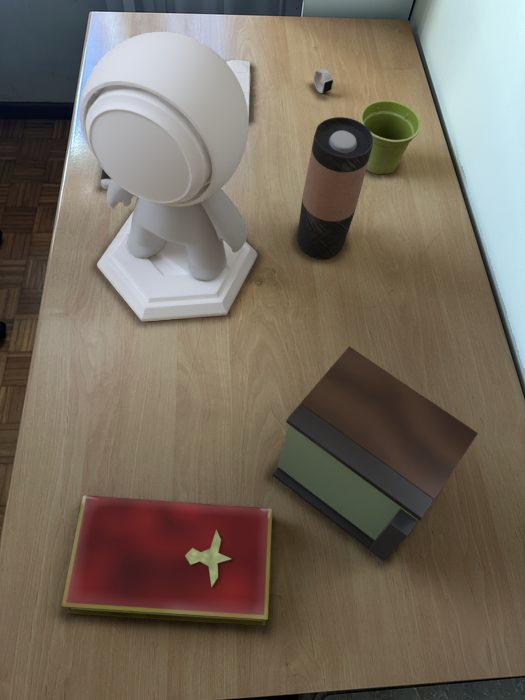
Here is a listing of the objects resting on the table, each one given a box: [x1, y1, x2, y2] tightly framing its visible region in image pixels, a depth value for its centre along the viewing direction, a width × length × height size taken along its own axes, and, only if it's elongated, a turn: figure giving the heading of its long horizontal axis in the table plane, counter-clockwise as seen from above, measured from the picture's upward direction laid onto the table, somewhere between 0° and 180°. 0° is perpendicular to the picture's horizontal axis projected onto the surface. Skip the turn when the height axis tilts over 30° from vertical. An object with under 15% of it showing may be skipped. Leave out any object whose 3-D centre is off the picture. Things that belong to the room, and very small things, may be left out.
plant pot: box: [359, 99, 422, 175], centre depth 106 cm, size 9×9×9 cm
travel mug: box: [296, 116, 373, 260], centre depth 92 cm, size 8×8×20 cm
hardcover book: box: [61, 494, 273, 627], centre depth 72 cm, size 12×21×4 cm, turn 87°
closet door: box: [277, 424, 419, 562], centre depth 71 cm, size 3×16×14 cm, turn 52°
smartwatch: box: [313, 68, 334, 94], centre depth 117 cm, size 4×2×4 cm, turn 32°
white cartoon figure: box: [79, 31, 258, 322], centre depth 81 cm, size 20×23×35 cm
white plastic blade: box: [225, 59, 251, 119], centre depth 116 cm, size 5×15×1 cm, turn 179°
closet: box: [272, 345, 479, 550], centre depth 74 cm, size 11×16×16 cm
